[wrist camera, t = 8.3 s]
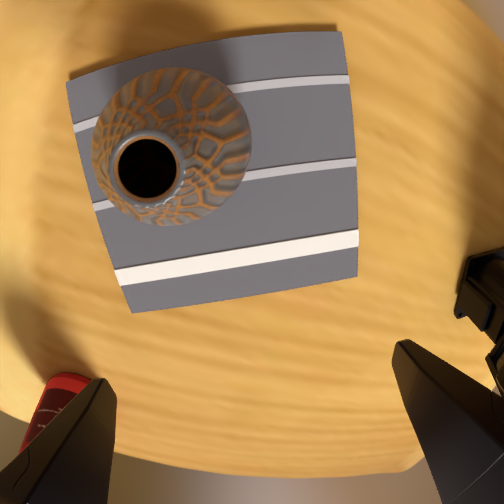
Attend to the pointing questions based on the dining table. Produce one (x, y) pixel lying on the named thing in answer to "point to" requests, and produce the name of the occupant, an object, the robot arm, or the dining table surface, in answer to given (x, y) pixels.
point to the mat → (255, 179)
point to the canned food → (53, 402)
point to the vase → (171, 146)
